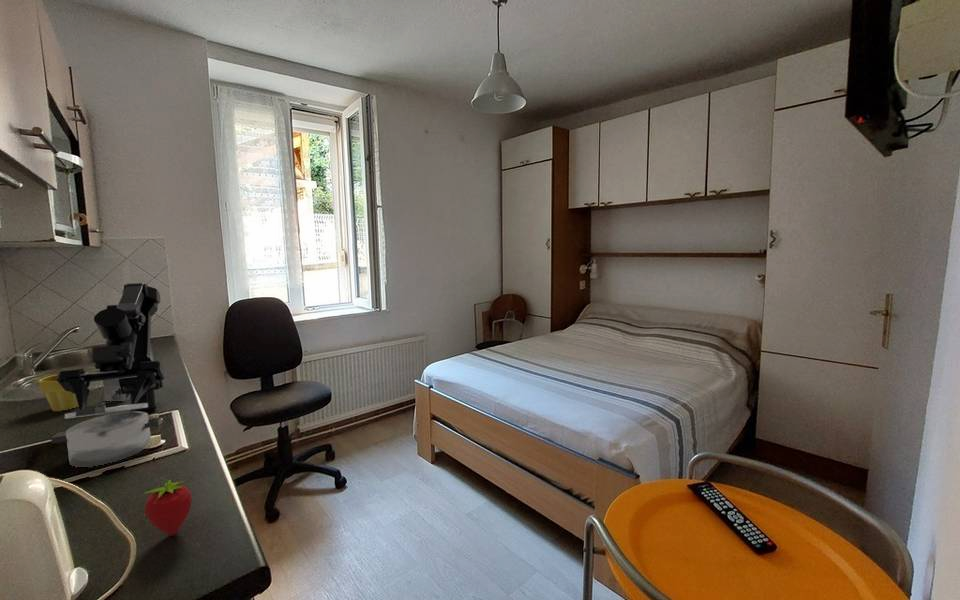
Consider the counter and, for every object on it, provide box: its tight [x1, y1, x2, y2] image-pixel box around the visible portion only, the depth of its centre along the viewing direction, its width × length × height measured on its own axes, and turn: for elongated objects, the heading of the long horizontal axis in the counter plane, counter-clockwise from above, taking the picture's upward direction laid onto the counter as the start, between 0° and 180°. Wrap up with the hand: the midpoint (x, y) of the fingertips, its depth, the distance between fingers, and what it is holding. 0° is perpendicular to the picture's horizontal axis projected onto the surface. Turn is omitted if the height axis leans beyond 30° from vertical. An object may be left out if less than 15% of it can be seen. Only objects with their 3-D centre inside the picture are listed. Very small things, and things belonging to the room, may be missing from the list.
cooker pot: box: [50, 411, 163, 468], centre depth 93 cm, size 14×19×7 cm
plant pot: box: [38, 371, 88, 412], centre depth 123 cm, size 10×10×10 cm
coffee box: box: [102, 379, 131, 402], centre depth 131 cm, size 9×6×16 cm
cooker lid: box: [64, 402, 148, 420], centre depth 91 cm, size 19×14×2 cm
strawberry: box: [143, 476, 193, 537], centre depth 64 cm, size 6×8×10 cm
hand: (108, 407), depth 93 cm, fingers open, 9 cm apart
